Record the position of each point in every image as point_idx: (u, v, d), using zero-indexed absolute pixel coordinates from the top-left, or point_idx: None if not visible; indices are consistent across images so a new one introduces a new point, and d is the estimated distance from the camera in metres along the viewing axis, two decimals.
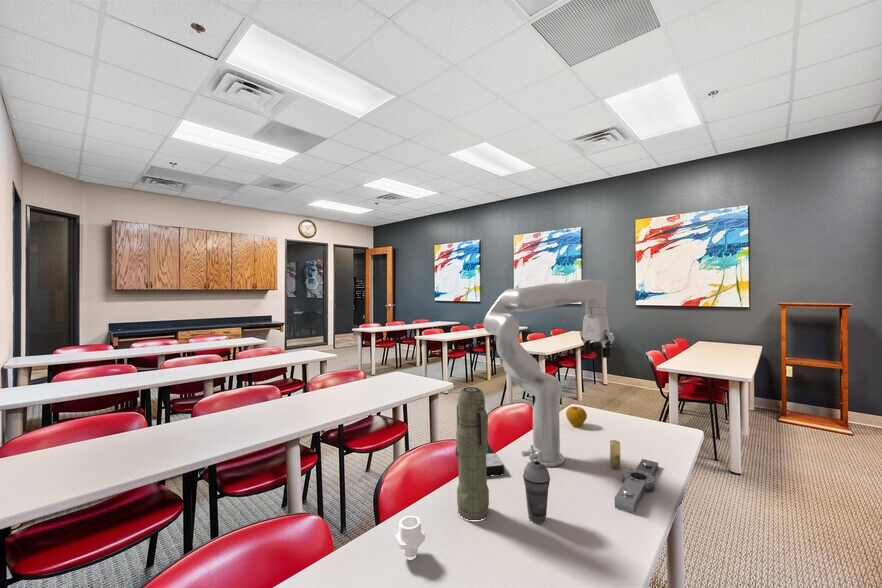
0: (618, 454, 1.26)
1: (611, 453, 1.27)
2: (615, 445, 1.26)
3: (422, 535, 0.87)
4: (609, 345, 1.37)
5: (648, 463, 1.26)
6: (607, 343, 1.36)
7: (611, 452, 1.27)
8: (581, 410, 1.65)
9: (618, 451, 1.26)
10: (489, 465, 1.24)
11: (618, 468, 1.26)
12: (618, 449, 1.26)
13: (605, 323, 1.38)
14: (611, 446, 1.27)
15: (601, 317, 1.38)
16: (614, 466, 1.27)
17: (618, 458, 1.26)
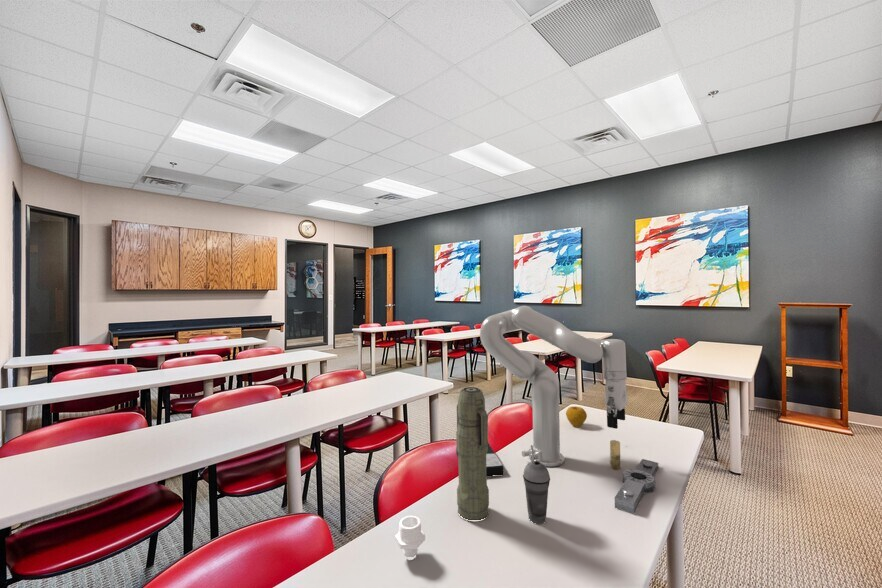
0: (618, 454, 1.26)
1: (611, 453, 1.27)
2: (615, 445, 1.26)
3: (422, 535, 0.87)
4: None
5: (648, 463, 1.26)
6: None
7: (611, 452, 1.27)
8: (581, 410, 1.65)
9: (618, 451, 1.26)
10: (488, 465, 1.24)
11: (618, 468, 1.26)
12: (618, 449, 1.26)
13: None
14: (611, 446, 1.27)
15: None
16: (614, 466, 1.27)
17: (618, 458, 1.26)
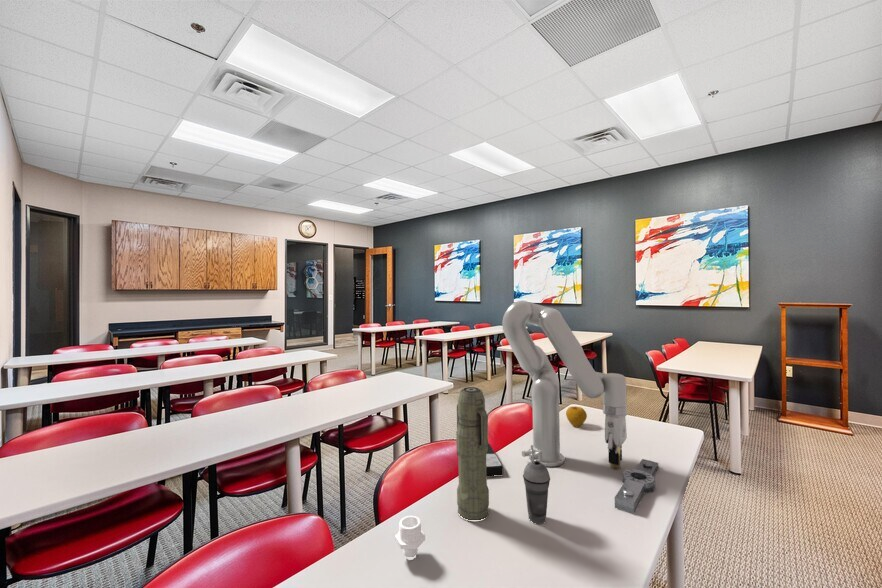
0: None
1: None
2: None
3: (422, 535, 0.87)
4: None
5: (648, 463, 1.26)
6: None
7: None
8: (581, 410, 1.65)
9: (618, 451, 1.26)
10: (488, 465, 1.24)
11: (618, 468, 1.26)
12: (618, 449, 1.26)
13: None
14: None
15: None
16: (614, 466, 1.27)
17: None
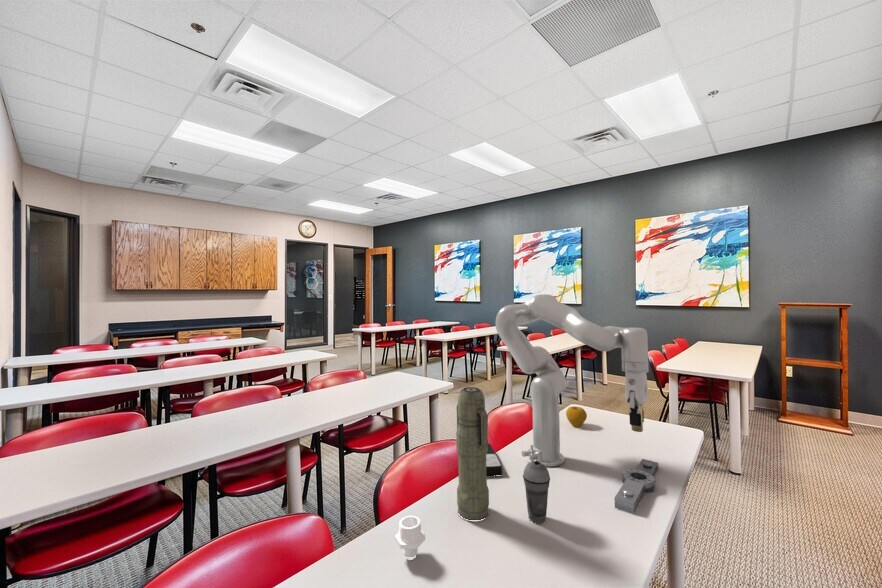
0: None
1: None
2: None
3: (422, 535, 0.87)
4: None
5: (648, 463, 1.26)
6: None
7: None
8: (581, 410, 1.65)
9: (640, 411, 1.15)
10: (487, 465, 1.24)
11: (640, 430, 1.15)
12: (640, 409, 1.15)
13: None
14: None
15: None
16: (636, 428, 1.15)
17: None
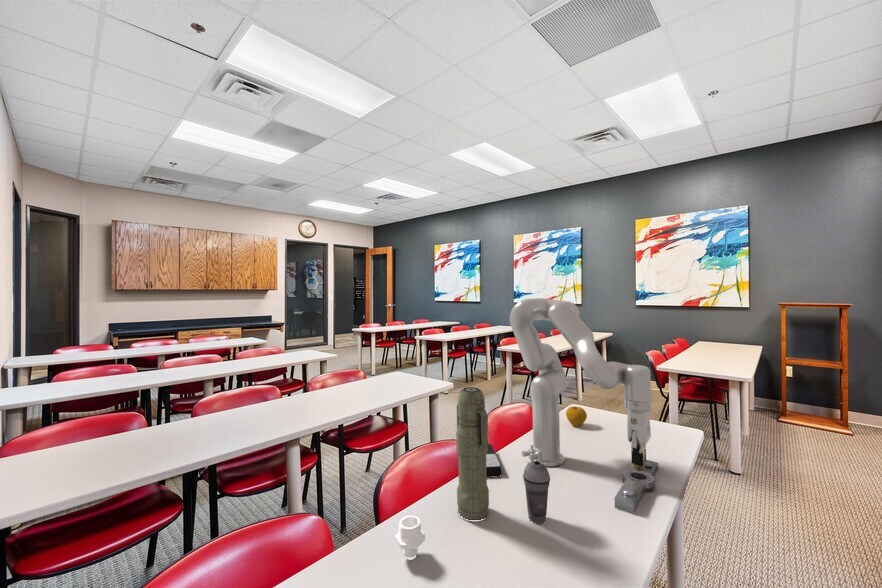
0: None
1: None
2: None
3: (422, 535, 0.87)
4: None
5: (648, 463, 1.26)
6: None
7: None
8: (581, 410, 1.65)
9: (642, 451, 1.14)
10: (486, 465, 1.24)
11: (643, 469, 1.14)
12: (642, 448, 1.14)
13: None
14: None
15: None
16: (638, 467, 1.15)
17: None
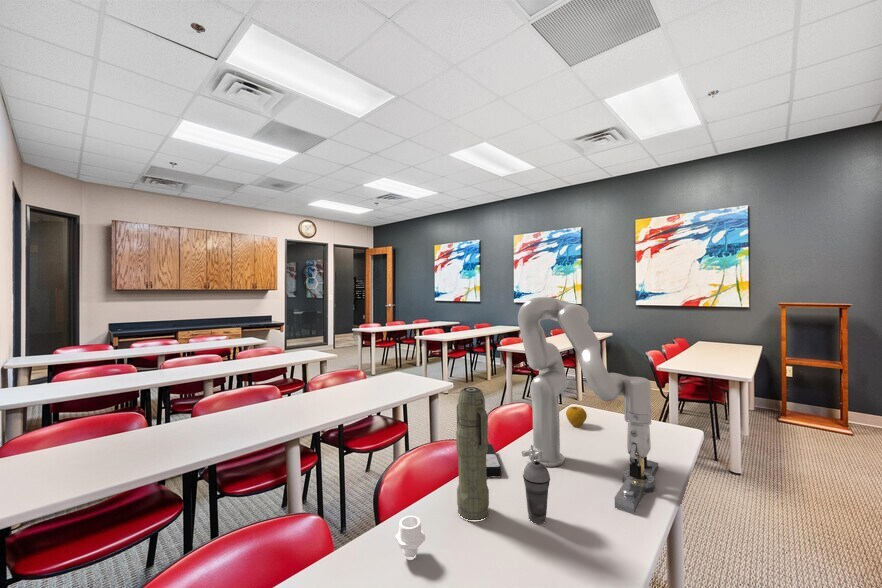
0: (642, 471, 1.14)
1: None
2: None
3: (422, 535, 0.87)
4: None
5: (648, 463, 1.26)
6: None
7: None
8: (581, 410, 1.65)
9: (642, 467, 1.14)
10: (486, 466, 1.24)
11: None
12: (642, 465, 1.14)
13: None
14: None
15: None
16: None
17: (642, 475, 1.14)
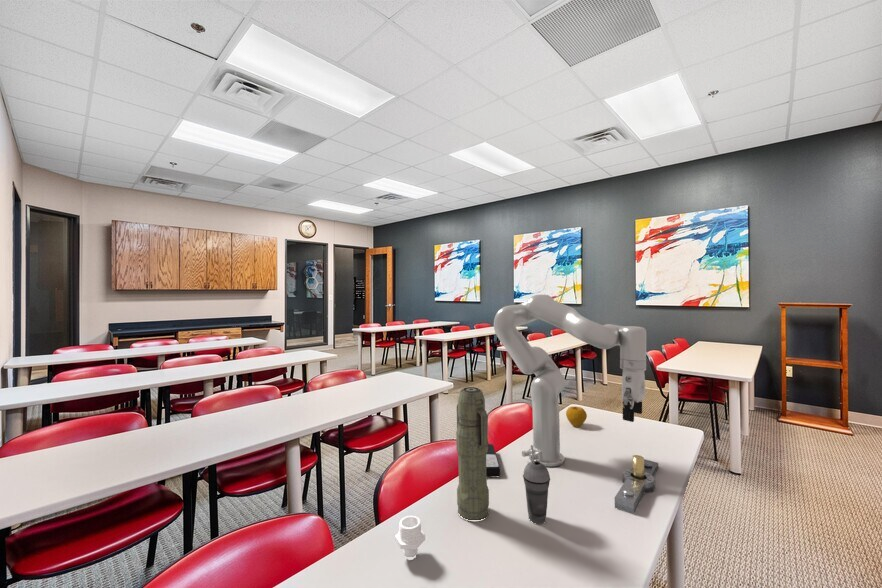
0: (642, 471, 1.14)
1: (634, 470, 1.16)
2: (638, 461, 1.14)
3: (422, 535, 0.87)
4: None
5: (648, 463, 1.26)
6: None
7: (634, 468, 1.16)
8: (581, 410, 1.65)
9: (642, 468, 1.14)
10: None
11: None
12: (642, 465, 1.14)
13: None
14: (634, 462, 1.15)
15: None
16: None
17: (642, 475, 1.14)
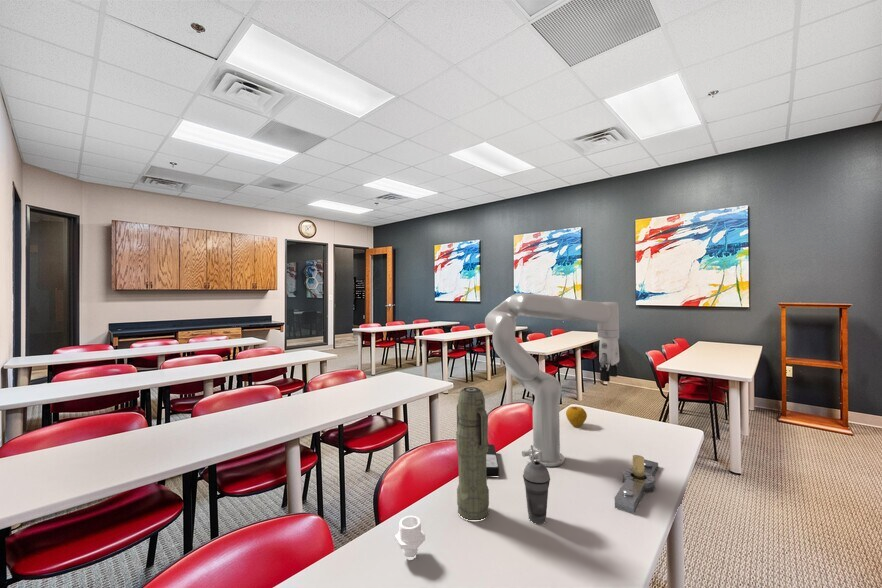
0: (642, 471, 1.14)
1: (634, 469, 1.16)
2: (639, 461, 1.14)
3: (422, 535, 0.87)
4: None
5: (648, 463, 1.26)
6: None
7: (634, 468, 1.16)
8: (581, 410, 1.65)
9: (642, 467, 1.14)
10: None
11: None
12: (642, 465, 1.14)
13: None
14: (634, 462, 1.15)
15: None
16: None
17: (642, 475, 1.14)
